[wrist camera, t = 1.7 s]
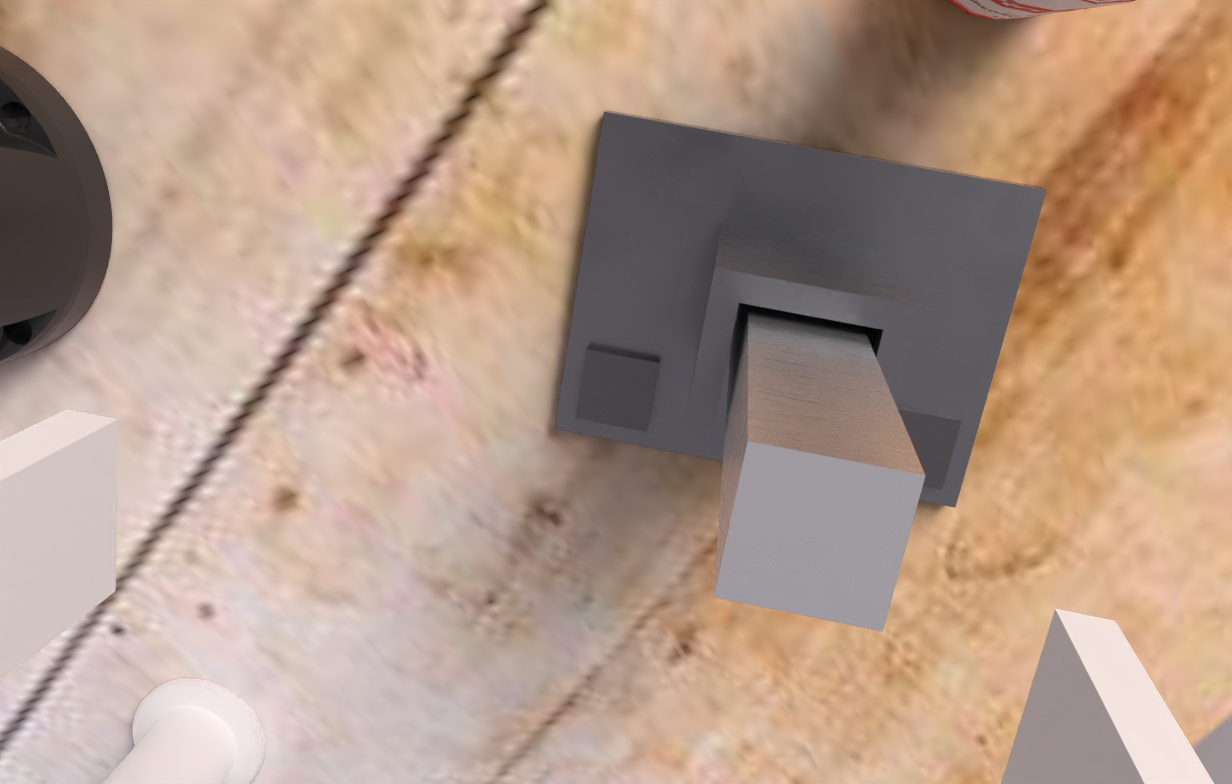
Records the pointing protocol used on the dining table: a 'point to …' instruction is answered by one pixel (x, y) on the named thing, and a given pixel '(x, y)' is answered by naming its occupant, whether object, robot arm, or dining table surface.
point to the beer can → (1026, 7)
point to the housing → (785, 282)
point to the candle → (192, 737)
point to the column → (812, 472)
